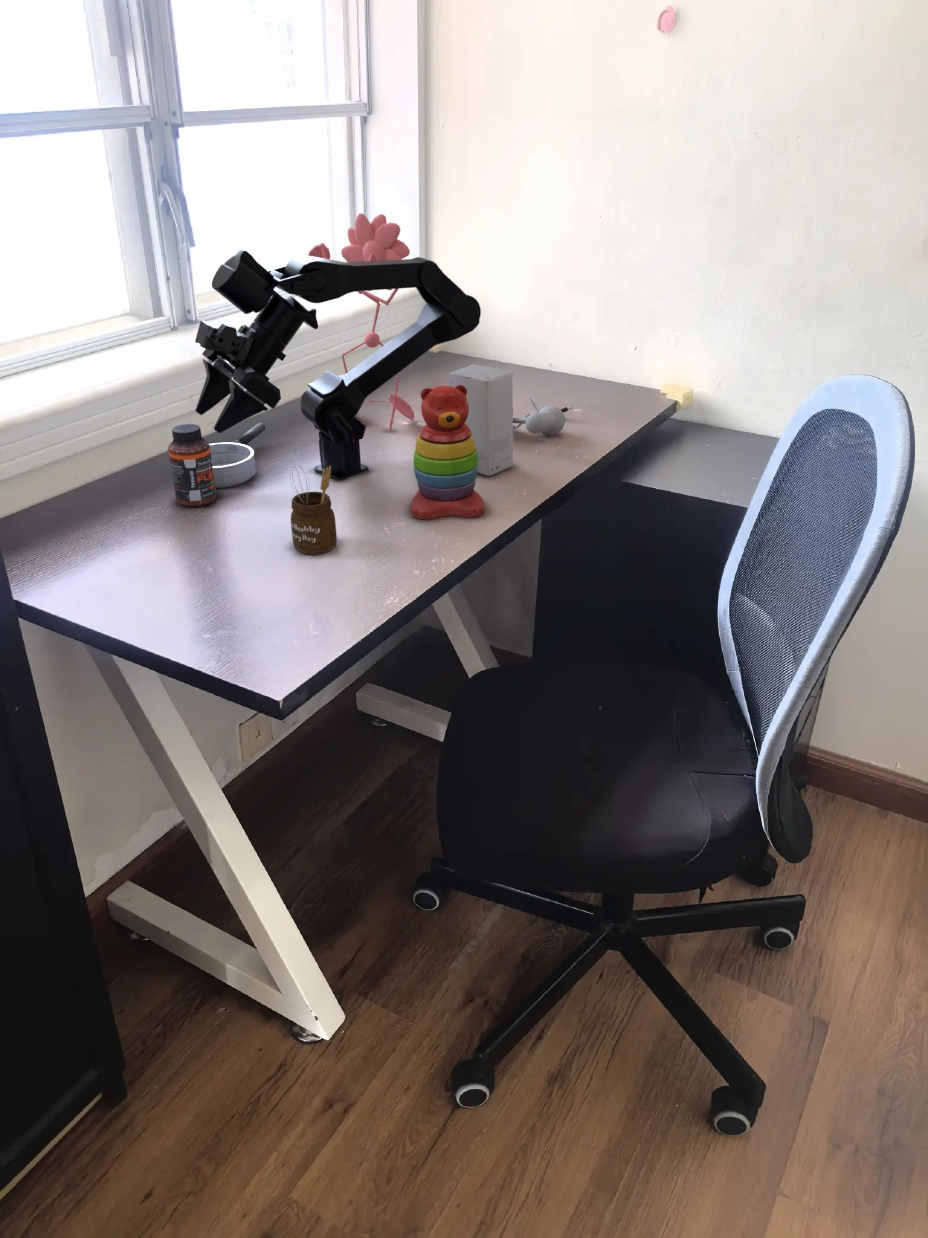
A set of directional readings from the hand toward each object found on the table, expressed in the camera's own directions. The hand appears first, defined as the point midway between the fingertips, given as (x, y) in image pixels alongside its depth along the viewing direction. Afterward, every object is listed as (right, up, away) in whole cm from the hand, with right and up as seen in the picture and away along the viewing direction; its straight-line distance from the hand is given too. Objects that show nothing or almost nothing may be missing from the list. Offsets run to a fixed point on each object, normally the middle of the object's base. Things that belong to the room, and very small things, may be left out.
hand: (207, 421), depth 134 cm
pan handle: (+1, +1, +21) cm, 21 cm away
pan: (-1, -6, +13) cm, 14 cm away
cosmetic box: (+40, -4, +16) cm, 44 cm away
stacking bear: (+35, -12, +3) cm, 37 cm away
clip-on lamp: (+50, +5, +31) cm, 59 cm away
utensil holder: (+17, -19, -9) cm, 27 cm away
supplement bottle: (-3, -11, +5) cm, 12 cm away
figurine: (+23, +9, +38) cm, 45 cm away
